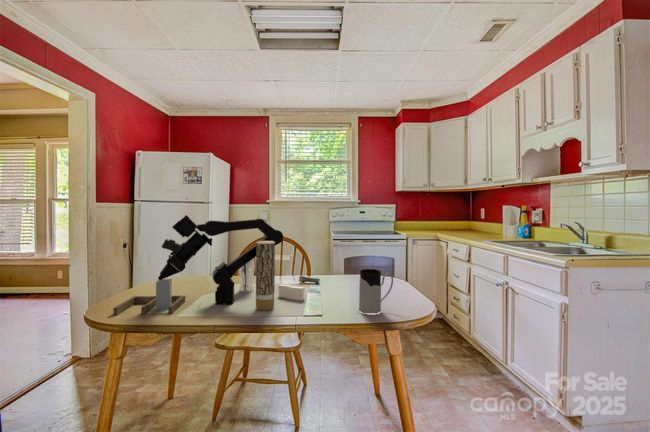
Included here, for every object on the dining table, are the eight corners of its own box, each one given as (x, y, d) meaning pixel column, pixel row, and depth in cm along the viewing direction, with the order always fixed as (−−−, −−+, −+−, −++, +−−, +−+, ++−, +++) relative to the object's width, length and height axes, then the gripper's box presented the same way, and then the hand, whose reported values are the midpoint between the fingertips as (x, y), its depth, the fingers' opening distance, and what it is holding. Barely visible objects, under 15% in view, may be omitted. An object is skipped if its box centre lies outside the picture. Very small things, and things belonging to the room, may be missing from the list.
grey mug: (353, 309, 123) (354, 269, 122) (385, 305, 128) (386, 267, 128) (365, 316, 115) (366, 274, 114) (399, 312, 120) (399, 271, 120)
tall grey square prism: (171, 305, 124) (171, 279, 124) (169, 308, 120) (169, 281, 119) (158, 306, 123) (158, 279, 122) (156, 309, 118) (156, 282, 118)
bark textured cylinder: (258, 312, 118) (259, 242, 118) (253, 307, 124) (254, 241, 124) (276, 309, 121) (277, 242, 121) (270, 304, 127) (271, 240, 127)
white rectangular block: (311, 301, 135) (311, 287, 135) (286, 305, 129) (286, 290, 129) (295, 292, 148) (295, 280, 148) (271, 296, 142) (271, 283, 142)
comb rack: (185, 301, 130) (185, 295, 130) (172, 313, 115) (172, 306, 115) (133, 302, 128) (133, 296, 128) (113, 315, 113) (113, 308, 113)
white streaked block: (250, 292, 145) (250, 258, 145) (236, 291, 147) (236, 258, 146) (256, 288, 152) (257, 256, 152) (242, 288, 153) (243, 256, 153)
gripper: (176, 229, 131) (145, 258, 127) (175, 233, 114) (138, 266, 109) (197, 248, 134) (167, 277, 130) (199, 254, 117) (164, 288, 113)
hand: (159, 276), depth 120 cm, fingers open, 9 cm apart
